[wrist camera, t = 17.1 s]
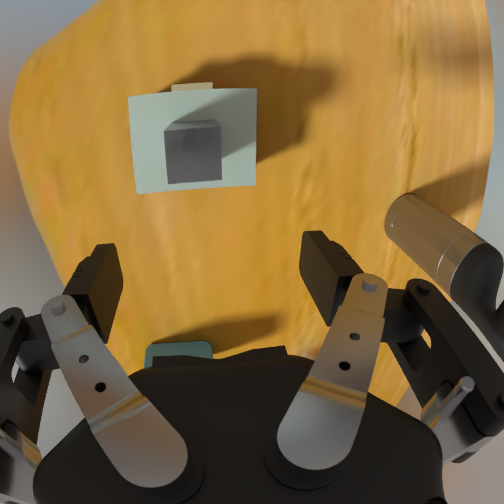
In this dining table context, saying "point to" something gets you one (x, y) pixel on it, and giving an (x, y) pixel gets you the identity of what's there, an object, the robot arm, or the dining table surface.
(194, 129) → the block
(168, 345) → the data package
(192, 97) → the box lid
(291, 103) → the dining table surface
